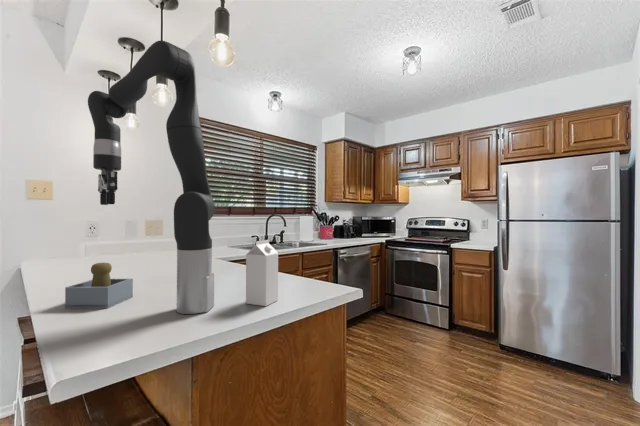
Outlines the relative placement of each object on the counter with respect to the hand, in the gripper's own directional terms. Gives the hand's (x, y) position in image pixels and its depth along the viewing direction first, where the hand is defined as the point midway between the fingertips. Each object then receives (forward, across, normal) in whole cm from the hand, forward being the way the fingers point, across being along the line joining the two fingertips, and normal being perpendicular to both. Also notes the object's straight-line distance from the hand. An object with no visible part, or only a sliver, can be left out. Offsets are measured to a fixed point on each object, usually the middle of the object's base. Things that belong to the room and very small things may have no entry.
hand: (107, 204), depth 101 cm
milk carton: (+30, -42, -32) cm, 61 cm away
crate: (+30, -7, +3) cm, 31 cm away
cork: (+29, -7, +3) cm, 30 cm away
